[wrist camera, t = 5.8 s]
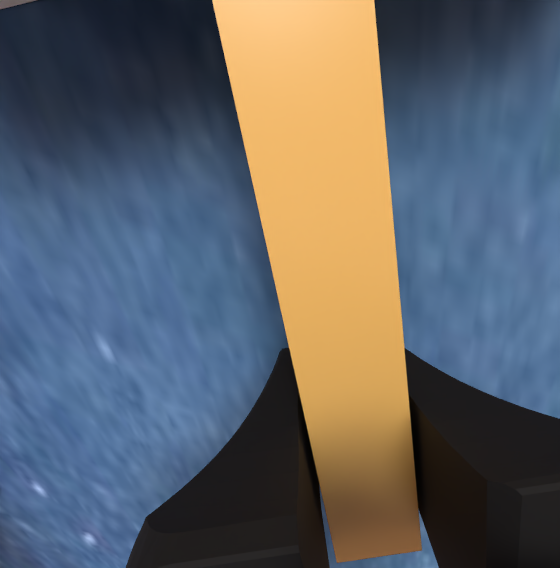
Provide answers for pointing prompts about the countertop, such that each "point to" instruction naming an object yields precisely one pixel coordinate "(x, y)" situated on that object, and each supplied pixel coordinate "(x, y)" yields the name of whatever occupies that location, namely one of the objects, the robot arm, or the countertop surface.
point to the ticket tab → (331, 250)
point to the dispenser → (12, 3)
